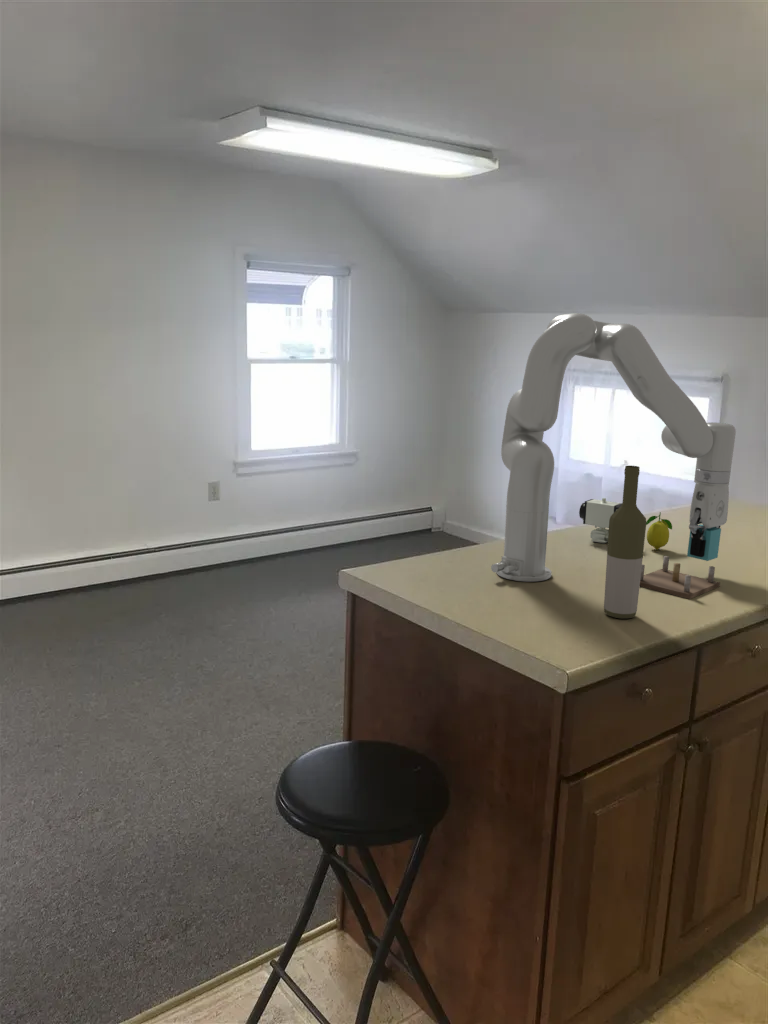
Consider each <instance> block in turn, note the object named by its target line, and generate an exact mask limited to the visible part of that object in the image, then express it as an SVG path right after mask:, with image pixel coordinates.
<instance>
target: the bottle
mask: <svg viewBox="0 0 768 1024" xmlns="http://www.w3.org/2000/svg"><path fill="white" fill-rule="evenodd" d="M623 473H624V479H623V480H624V482H623V492H622V501H621V503H622V505H621V507H620V508H618V509H617V510H616V511H615V512H614V513H613V514H612V515H611V517H610V520H609V528H608V529H609V533H608V542H607V549H606V551H607V552H606V553H607V554H606V567H605V583H604V600H603V611H604V613H605V614H606V615H607V616H609V617H612V618H615V619H621V620H623V619H626V620H627V619H631V618H635V617H636V614H637V611H638V606H639V605H638V603H639V594H640V587H641V586H640V578H641V568H642V564H643V560H644V558H643V557H644V548H645V539H646V530H647V525H646V522H647V518H646V516H645V515H644V514H643V512H642V511H641V510H640V509H639V508H638V506H637V498H638V489H639V488H638V487H639V486H638V485H639V476H640V473H641V472H640V466H637V465H625V467H624V472H623Z"/></svg>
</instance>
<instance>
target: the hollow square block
mask: <svg viewBox="0 0 768 1024" xmlns="http://www.w3.org/2000/svg"><path fill="white" fill-rule="evenodd" d="M699 525H700V526H703V524H699ZM698 529H699V530H700V531H701V532H702V529H700V528H698ZM721 535H722V527H720V528H716V527H714V528H710V529H709V528H707V530H706V534H705V538H704V540H706V544H705V552H704V556H703V557H699V556H694V555H691V554H690V548H691V540H692V538H691V531H690V530H689V538H688V544H687V545H688V547H687V555H686V557H689V558H693V559H697V560H702V561H704V562H705V561H706V562H708V561H712V560H715V559H718V556H719V549H720V548H719V547H720V540H721Z"/></svg>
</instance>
